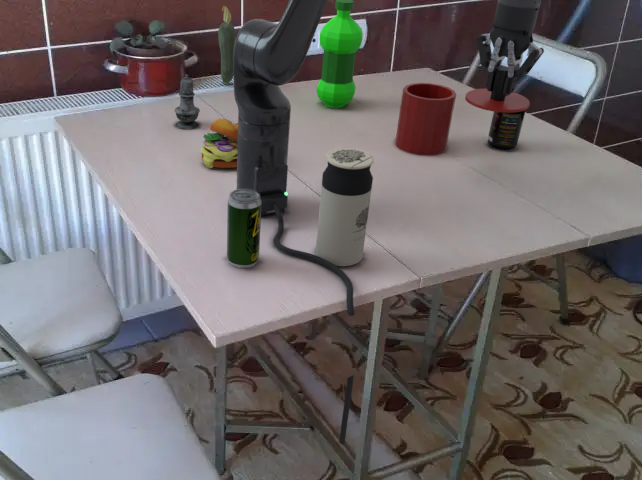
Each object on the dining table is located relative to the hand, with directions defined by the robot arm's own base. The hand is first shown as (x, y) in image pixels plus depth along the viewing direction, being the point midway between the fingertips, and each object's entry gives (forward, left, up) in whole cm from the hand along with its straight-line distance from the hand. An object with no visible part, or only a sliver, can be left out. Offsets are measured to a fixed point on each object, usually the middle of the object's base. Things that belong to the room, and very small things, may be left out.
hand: (498, 92), depth 148 cm
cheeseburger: (+23, +49, -18) cm, 57 cm away
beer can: (-16, +61, -18) cm, 65 cm away
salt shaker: (+45, +50, -18) cm, 69 cm away
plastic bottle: (+47, +10, -18) cm, 51 cm away
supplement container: (+11, -14, -18) cm, 25 cm away
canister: (+17, +4, -17) cm, 24 cm away
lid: (0, 0, -2) cm, 2 cm away
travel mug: (-20, +45, -18) cm, 52 cm away
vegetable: (+69, +31, -18) cm, 78 cm away
